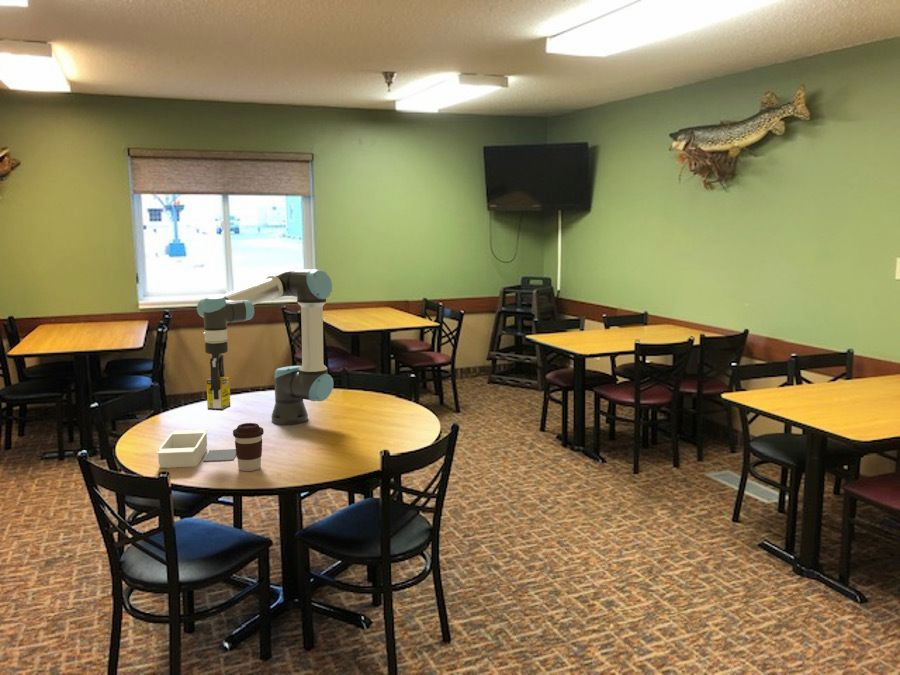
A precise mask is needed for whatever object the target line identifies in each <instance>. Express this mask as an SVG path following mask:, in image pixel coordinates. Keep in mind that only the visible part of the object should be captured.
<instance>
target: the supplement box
mask: <svg viewBox="0 0 900 675" xmlns="http://www.w3.org/2000/svg"><path fill="white" fill-rule="evenodd" d="M205 382H206V396H207V397H206V401H207V402H206V403H207V411H218V412H219V411H220V412H221V411H225V410H226V409H229V408H231V389H230V388H231V386H230V384H231V383H230V377H229V376H224V377H220V389H221V408H213V397H212V390H210V388H211V378H207V379H206V381H205Z"/></svg>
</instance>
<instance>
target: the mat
mask: <svg viewBox="0 0 900 675" xmlns="http://www.w3.org/2000/svg"><path fill="white" fill-rule="evenodd" d="M236 457H237V456H236V448H229V449H227V448H226V449H209V451H208V452H207V454H206V456H205V458H204V460H203V462H204V463H209V462H211V463H212V462H231V461H234V460H235V458H236Z"/></svg>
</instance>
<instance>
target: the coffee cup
mask: <svg viewBox="0 0 900 675" xmlns="http://www.w3.org/2000/svg"><path fill="white" fill-rule="evenodd" d="M264 431H265V430H264V428H263V427H261V426H260V425H259V423H255V422H254V423H253V422H246V423H241V424H239V425H238V426H237V427H236V428H234V429H233V431H232V435H233V437H234V444H235V449H236V456H235V457H236V459H237V468H238V469H239V470H240V471H242V472H253V471H257V470H259V469H260V468H261V467H262V466H261V465H262V455H263V454H262V453H263V437H262V436H263V435H264Z"/></svg>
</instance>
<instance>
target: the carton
mask: <svg viewBox="0 0 900 675" xmlns="http://www.w3.org/2000/svg"><path fill="white" fill-rule="evenodd" d="M207 431H208V430H207V428H206V429H186V430H185V429H183V430H173V431H172V433H170V434H169V435H168V436H167V438H166V439H165V440H164V441H163V442H162V443H161V445H160V446H159V448H158V449H157V452H156V455H158V464H159V469H164V468H165V469H166V468H167V469H168V468H186V467H187V468H188V467H189V468H190V467H198V466H199V464H200V462H201V460H202V459H203V457H204V455H205V453H206V451H207V448H208V436H207V435H208V434H207Z"/></svg>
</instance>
